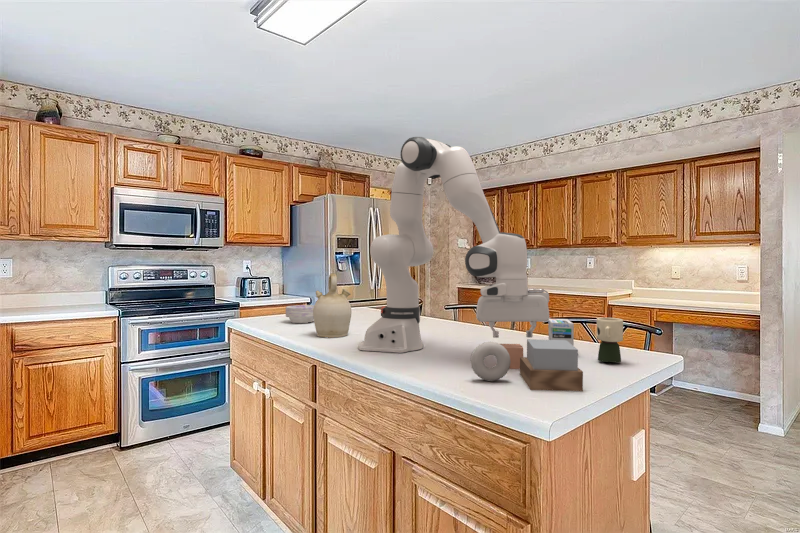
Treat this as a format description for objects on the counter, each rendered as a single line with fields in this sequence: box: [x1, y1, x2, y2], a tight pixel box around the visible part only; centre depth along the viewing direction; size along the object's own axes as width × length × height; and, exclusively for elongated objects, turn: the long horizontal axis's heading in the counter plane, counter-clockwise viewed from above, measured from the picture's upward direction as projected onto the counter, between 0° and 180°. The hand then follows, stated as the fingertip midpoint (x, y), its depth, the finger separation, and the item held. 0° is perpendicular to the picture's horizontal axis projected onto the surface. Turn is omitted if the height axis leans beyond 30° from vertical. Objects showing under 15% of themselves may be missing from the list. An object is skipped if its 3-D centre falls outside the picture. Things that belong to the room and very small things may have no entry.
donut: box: [470, 341, 511, 382], centre depth 113 cm, size 10×4×10 cm, turn 87°
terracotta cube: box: [499, 343, 524, 370], centre depth 129 cm, size 6×6×6 cm
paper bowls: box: [285, 304, 315, 324], centre depth 216 cm, size 15×15×8 cm
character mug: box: [596, 317, 624, 364], centre depth 133 cm, size 11×7×13 cm, turn 147°
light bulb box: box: [547, 317, 575, 347], centre depth 146 cm, size 11×7×11 cm, turn 168°
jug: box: [313, 272, 352, 339], centre depth 180 cm, size 15×16×25 cm
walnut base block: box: [519, 356, 584, 392], centre depth 112 cm, size 12×14×5 cm
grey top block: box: [526, 338, 579, 371], centre depth 112 cm, size 10×12×5 cm
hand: (512, 337), depth 128 cm, fingers open, 8 cm apart
